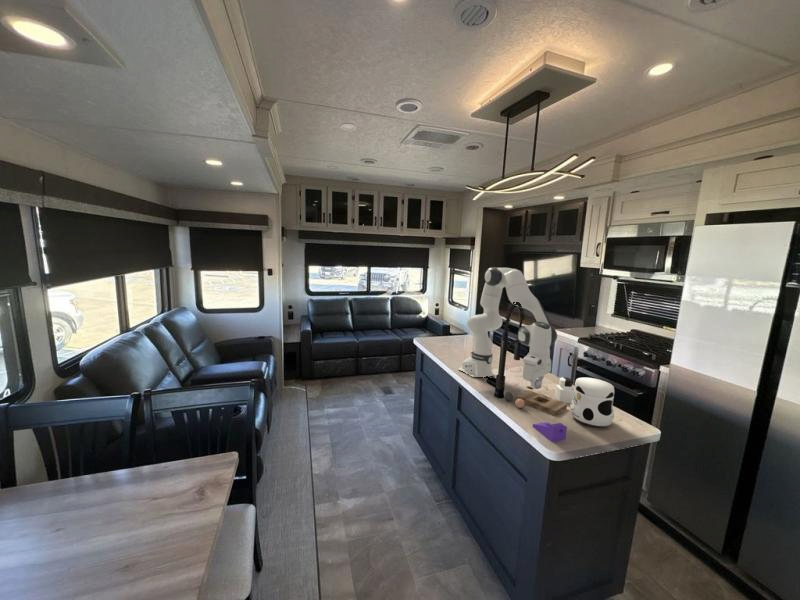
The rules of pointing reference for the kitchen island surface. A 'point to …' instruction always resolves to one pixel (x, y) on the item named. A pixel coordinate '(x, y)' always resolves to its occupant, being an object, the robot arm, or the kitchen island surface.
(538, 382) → the steel ball
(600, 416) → the doce de leite tub
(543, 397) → the hole plate
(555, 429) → the bracket
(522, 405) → the terracotta ball
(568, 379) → the medicine bottle
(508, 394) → the rubber ball
